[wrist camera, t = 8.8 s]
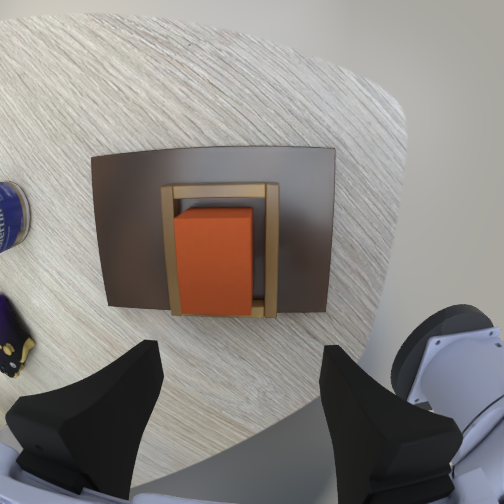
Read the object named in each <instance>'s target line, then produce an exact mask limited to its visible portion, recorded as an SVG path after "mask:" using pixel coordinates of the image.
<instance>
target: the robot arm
mask: <svg viewBox="0 0 504 504" xmlns="http://www.w3.org/2000/svg"><path fill="white" fill-rule="evenodd" d="M499 334H500V328H499V327H492V328H487V329H481V330H475V331H469V332H462V333H456V334H449V335H441V336H434V337H431V338H430V339H429V340H428V342H427V345H426V348H425V351H424V354H423V357H422V361H421V364H420V366H419V369H418V372H417V375H416V378H415V381H414V383H413V386H412V389H411V391H410V394H409V397H408V399H407V401H405V400H404V399H402V398H400V397H398V396H397V395H395V394H393V393H392V392H390V391H389V390H387V389H386V388H384V387H383V386H382V385H380V384H379V383H378V382H377V381H375V380H374V379H373V378H372V377H370V376H369V375H368V374H367V373H366V372H365V371H364V370H363V369H361V368H360V367H359V366H358V365H357V364H356V363H355V362H354V361H353V360H352V359H351V358H350V356H349V355H348V354H347V353H346V352H345V351H344V350H343V349H342V348H341V347H340V346H339V345H325V346H324V353H323V360H322V366H321V373H320V379H319V385H320V394H321V401H322V405H323V409H324V413H325V416H326V420H327V424H328V428H329V432H330V435H331V439H332V444H333V450H334V458H335V466H336V477H337V491H338V504H504V342H503V341H502V340H501V339H500V338H499V337H498V336H499ZM437 341H438V342H437ZM436 342H437V343H436ZM163 379H164V373H163V368H162V363H161V358H160V353H159V347H158V341H155V340H143V341H142V342H140V343H139V344H137V345H136V346H135V347H133V348H132V349H130V350H129V351H128V352H126V353H125V354H124V355H122V356H121V357H119V358H118V359H117V360H115V361H114V362H112V363H111V364H109V365H107V366H106V367H104V368H103V369H101V370H100V371H98V372H96V373H94V374H92V375H91V376H89V377H87V378H85V379H83V380H80V381H78V382H76V383H73V384H71V385H68V386H65V387H63V388H60V389H56V390H53V391H49V392H45V393H41V394H36V395H29V396H23V397H19V399H18V400H17V401H16V402H15V404H14V405H13V406H12V407H11V409H10V410H9V411H8V412H7V414H6V416H5V419H6V422H7V425H8V427H9V429H10V431H11V432H12V434H13V435H14V437H15V438H16V439H17V441H18V442H19V444H20V445H21V447H22V448H23V450H22V452H21V453H19V452H17V451H16V450H15V449H13V448H12V447H10V446H8V445H6V444H4V443H2V442H1V441H0V504H237V503H227V502H214V501H204V500H196V499H188V498H181V497H175V496H169V495H163V494H158V493H146V492H144V493H141V494H138V495H135V496H134V497H133V500H132V502H131V501H128V500H129V492H130V486H131V480H132V474H133V469H134V465H135V461H136V456H137V452H138V448H139V445H140V441H141V438H142V435H143V432H144V430H145V427H146V425H147V423H148V420H149V418H150V415H151V413H152V411H153V409H154V406H155V404H156V401H157V399H158V397H159V394H160V390H161V387H162V383H163ZM426 401H428V402H429V404H430V405H431V407H432V409H433V411H434V412H435V413H433V412H430V411H427V410H425V409H422V408H420V407H418V406H415V405H413V404H416V403H421V402H426ZM450 462H452V464H453V465H452V466H451V467H450V465H449V463H450Z"/></svg>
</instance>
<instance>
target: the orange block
mask: <svg viewBox="0 0 504 504" xmlns="http://www.w3.org/2000/svg"><path fill="white" fill-rule="evenodd" d="M174 233H175V247H176V260H177V272H178V283H179V293H180V303H181V312H182V313H183V314H208V315H251V313H252V298H253V207H197V208H188V209H187V210H185V211H184V212H183V213H181V214H180V215H178V216H177V217H176V218H174Z"/></svg>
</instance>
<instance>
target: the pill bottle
mask: <svg viewBox="0 0 504 504" xmlns="http://www.w3.org/2000/svg"><path fill="white" fill-rule="evenodd" d="M29 221H30V213H29V206H28V202H27V199H26V197H25V195H24V193H23V191H22V190H21V189H20V187H19V186H17V185H16V184H14V183H12V182H0V253H1V252H3V251H5V250H8V249H10V248H12V247H14V246H16V245H18V244H19V243H20V242H22V240H23V239H24V238H25V236H26V234H27V232H28V228H29Z"/></svg>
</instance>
